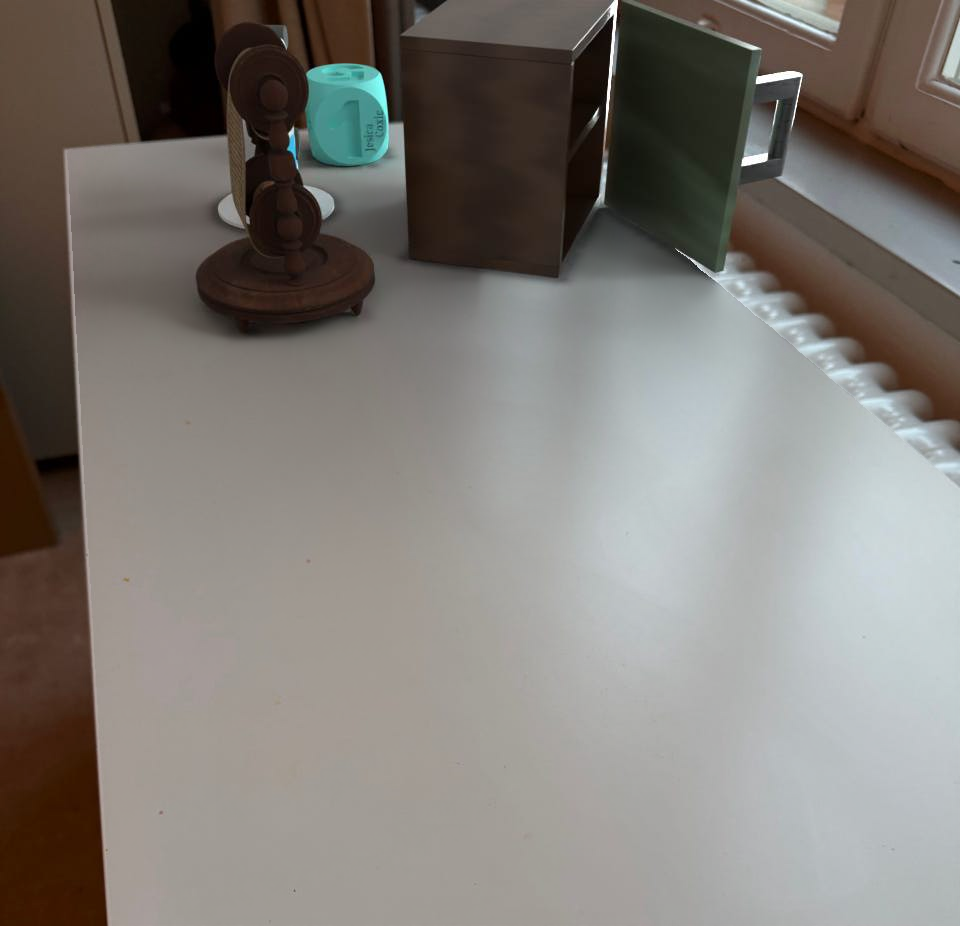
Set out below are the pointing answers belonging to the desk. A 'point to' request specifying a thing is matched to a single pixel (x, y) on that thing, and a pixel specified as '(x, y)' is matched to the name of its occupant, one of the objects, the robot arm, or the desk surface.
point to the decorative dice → (347, 114)
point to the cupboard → (505, 130)
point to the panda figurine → (324, 199)
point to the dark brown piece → (274, 199)
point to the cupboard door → (688, 129)
